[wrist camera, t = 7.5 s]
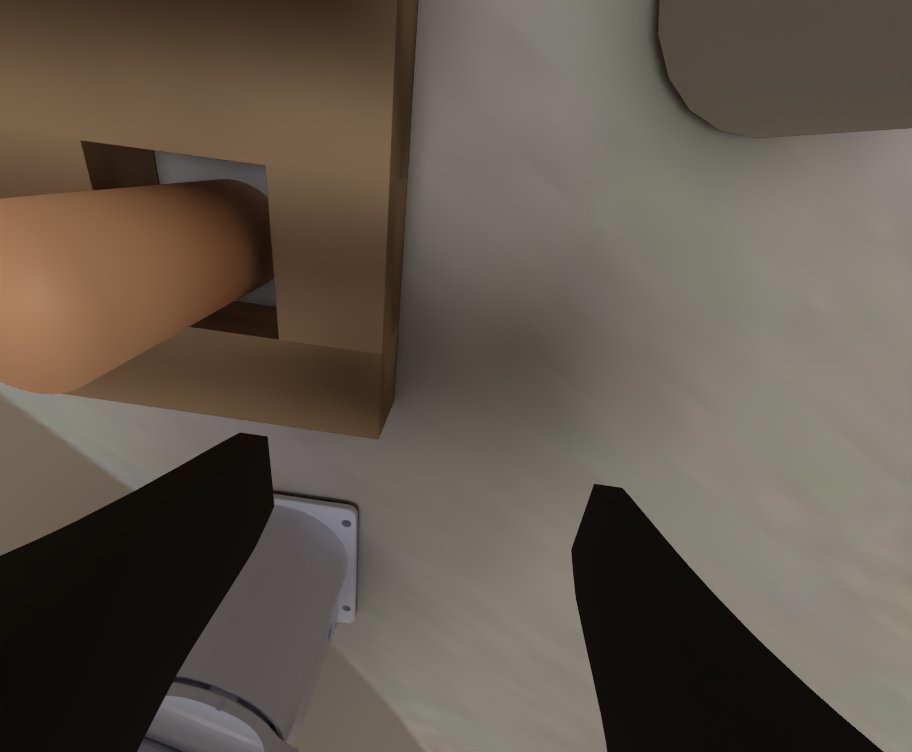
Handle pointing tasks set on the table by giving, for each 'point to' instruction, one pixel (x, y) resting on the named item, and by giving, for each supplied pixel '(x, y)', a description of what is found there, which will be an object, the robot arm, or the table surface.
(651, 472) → the table surface
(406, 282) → the table surface
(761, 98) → the can
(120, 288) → the peg
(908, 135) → the table surface
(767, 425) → the table surface
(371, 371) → the socket block
